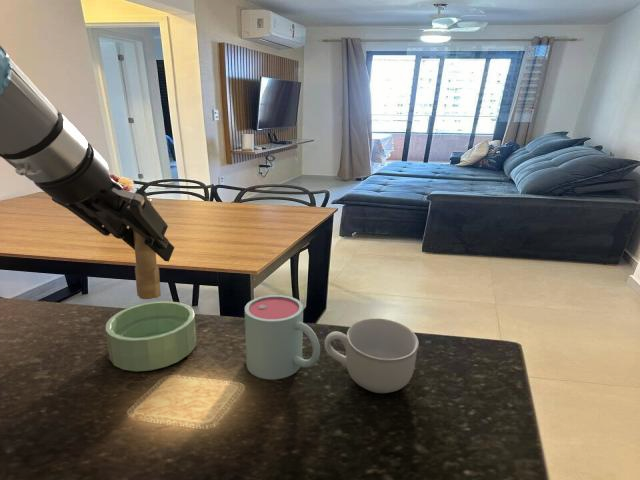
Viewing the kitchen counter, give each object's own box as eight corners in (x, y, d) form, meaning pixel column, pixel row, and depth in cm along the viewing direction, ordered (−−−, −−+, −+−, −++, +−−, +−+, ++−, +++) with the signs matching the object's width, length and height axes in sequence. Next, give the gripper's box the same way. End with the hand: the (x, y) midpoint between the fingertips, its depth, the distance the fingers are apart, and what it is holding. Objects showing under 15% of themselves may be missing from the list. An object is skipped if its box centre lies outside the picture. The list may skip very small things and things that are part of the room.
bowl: (92, 358, 63) (86, 325, 61) (159, 323, 74) (156, 295, 73) (148, 384, 57) (144, 349, 55) (212, 342, 68) (211, 312, 67)
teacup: (417, 368, 63) (421, 325, 60) (409, 413, 53) (415, 362, 50) (335, 351, 67) (337, 310, 65) (315, 389, 57) (316, 342, 55)
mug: (234, 364, 62) (232, 308, 59) (273, 340, 69) (273, 290, 67) (298, 400, 54) (299, 338, 52) (335, 369, 62) (338, 314, 59)
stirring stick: (133, 298, 62) (124, 199, 58) (145, 291, 64) (137, 197, 61) (153, 300, 61) (144, 201, 57) (164, 293, 64) (157, 198, 60)
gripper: (-15, 182, 44) (109, 268, 64) (104, 190, 41) (195, 278, 61) (20, 134, 48) (127, 230, 68) (132, 138, 44) (210, 238, 65)
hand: (159, 253), depth 65 cm, fingers closed on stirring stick, 3 cm apart
